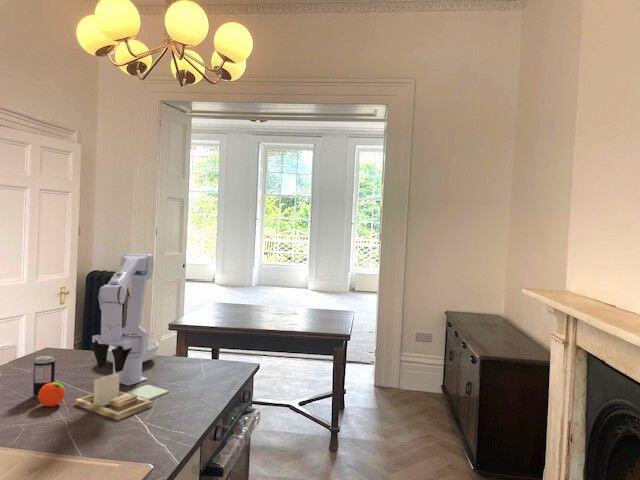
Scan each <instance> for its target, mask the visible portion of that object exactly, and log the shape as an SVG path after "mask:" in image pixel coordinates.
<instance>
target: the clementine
mask: <svg viewBox="0 0 640 480" xmlns="http://www.w3.org/2000/svg"><path fill="white" fill-rule="evenodd" d="M66 391H67V389H66V387H65V386H64V385H63V384H62V383H59V382H58V381H55V382H50V383H47V384H45V385H44V386H43V387H42V388H41V389H40V391H39V393H38V398H37V399H38V401H39V403H40V404H41V405H43V406H44V407H55V406H58V404H60V403H62V401H63V400H64V397H65V395H66Z"/></svg>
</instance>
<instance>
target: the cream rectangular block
mask: <svg viewBox="0 0 640 480" xmlns="http://www.w3.org/2000/svg"><path fill="white" fill-rule="evenodd" d="M119 391H120V383H119V375H118V374H113V373H112V374H109V375H105V376H102V377H99V378H95V379H93V394H94V400H93V403H94V404H97V405H99V406H102V407H105V406H108V405H110V400H111V399H114V398H117V397H119Z"/></svg>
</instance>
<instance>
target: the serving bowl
mask: <svg viewBox="0 0 640 480" xmlns="http://www.w3.org/2000/svg"><path fill="white" fill-rule="evenodd" d="M112 349H114V346H111V345H110V346H109V349H108V353H107V361H106V362H109V363H112V364H113V361H114V356H113V353H112ZM158 349H159V343H158V341H155V340H153V339H148V348H147V351H146V353H145V354H143V355H142V363H146V362H148V361H150V360H151V359H152V358H154V357H155V356H156V355H157V352H158Z"/></svg>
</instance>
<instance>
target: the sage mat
mask: <svg viewBox="0 0 640 480" xmlns="http://www.w3.org/2000/svg"><path fill="white" fill-rule="evenodd" d="M125 393H129V394H133V395H136V396H137V397H141V398H144V399H147V400H150V401H152V400H154V399H156V398H159V397H162V396H163V395H166V394H167V395H168V394H169V393H170V391H169V390H167V389H163V388H160V387H157V386H154V385H151V384H146V385H143V386H140V387H137V388H133V389H131V390H128V391H126V392H125Z"/></svg>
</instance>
